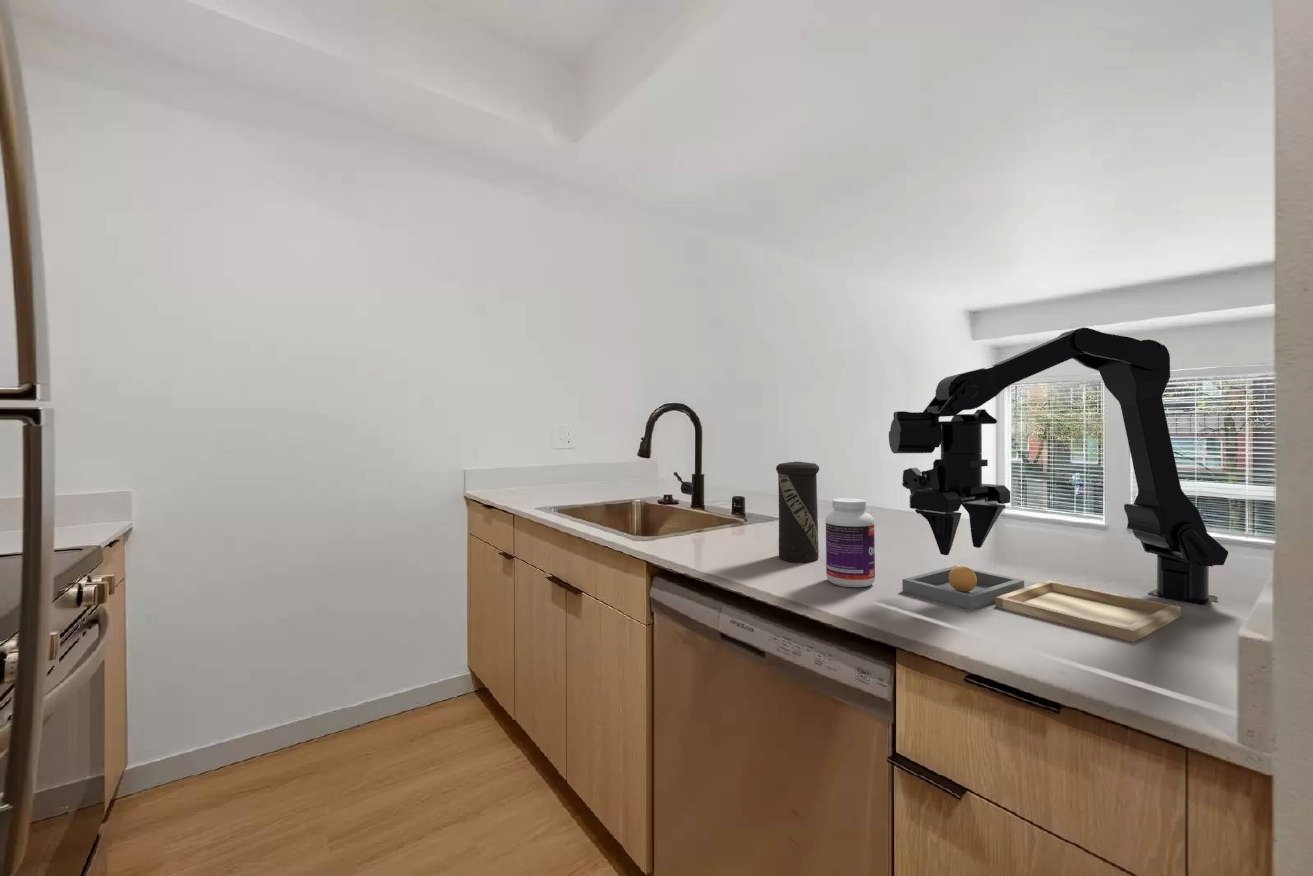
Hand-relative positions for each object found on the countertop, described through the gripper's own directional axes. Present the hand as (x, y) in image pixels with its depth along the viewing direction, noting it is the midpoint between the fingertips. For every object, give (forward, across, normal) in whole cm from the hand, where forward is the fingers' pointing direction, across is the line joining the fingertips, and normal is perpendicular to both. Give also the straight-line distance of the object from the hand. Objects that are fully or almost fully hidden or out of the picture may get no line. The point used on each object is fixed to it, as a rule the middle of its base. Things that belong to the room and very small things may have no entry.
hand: (961, 551), depth 87 cm
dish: (+7, -5, +15) cm, 17 cm away
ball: (+6, 0, 0) cm, 7 cm away
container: (+7, +3, -32) cm, 33 cm away
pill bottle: (+7, +9, -14) cm, 18 cm away
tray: (+7, 0, 0) cm, 7 cm away
